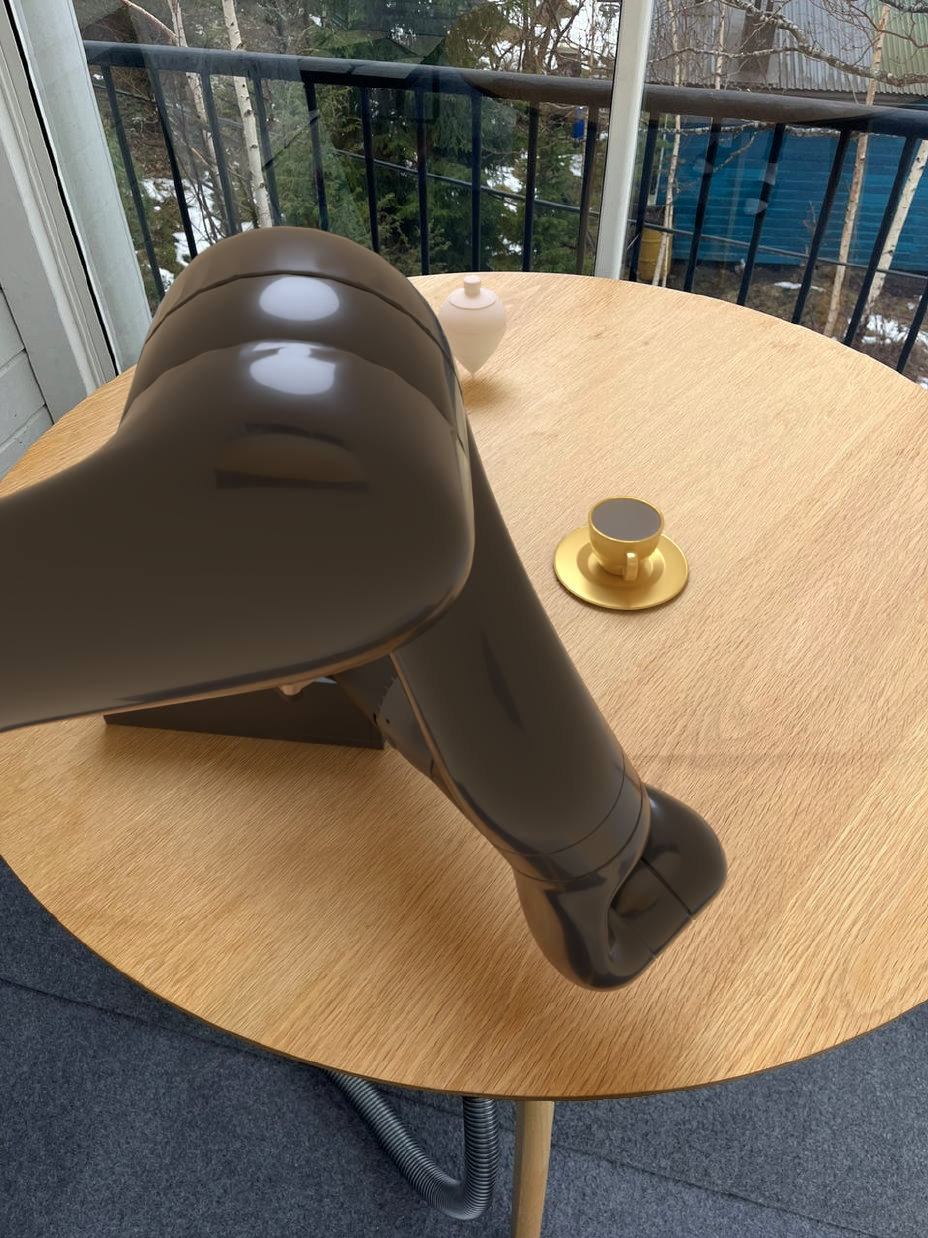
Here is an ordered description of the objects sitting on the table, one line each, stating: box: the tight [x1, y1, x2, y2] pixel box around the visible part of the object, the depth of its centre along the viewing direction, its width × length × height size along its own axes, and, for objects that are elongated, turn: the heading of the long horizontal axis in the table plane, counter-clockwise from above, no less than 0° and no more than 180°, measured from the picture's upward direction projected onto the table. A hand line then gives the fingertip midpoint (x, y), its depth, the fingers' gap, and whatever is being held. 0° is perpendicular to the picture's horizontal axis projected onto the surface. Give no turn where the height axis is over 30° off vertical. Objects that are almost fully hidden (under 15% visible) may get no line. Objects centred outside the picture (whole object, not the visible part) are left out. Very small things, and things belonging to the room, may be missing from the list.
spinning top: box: [437, 275, 509, 381], centre depth 104 cm, size 8×8×12 cm
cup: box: [552, 495, 690, 611], centre depth 82 cm, size 12×12×5 cm
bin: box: [102, 677, 387, 751], centre depth 76 cm, size 22×22×7 cm
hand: (296, 561), depth 67 cm, fingers open, 8 cm apart
